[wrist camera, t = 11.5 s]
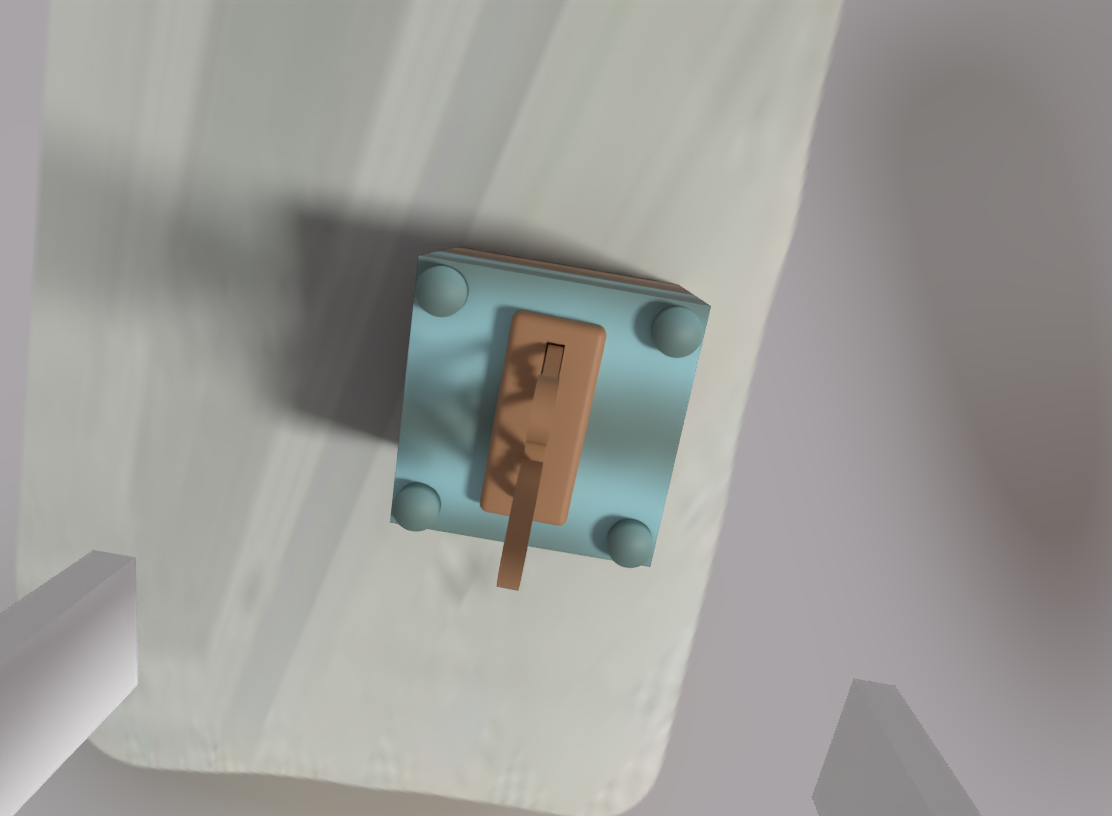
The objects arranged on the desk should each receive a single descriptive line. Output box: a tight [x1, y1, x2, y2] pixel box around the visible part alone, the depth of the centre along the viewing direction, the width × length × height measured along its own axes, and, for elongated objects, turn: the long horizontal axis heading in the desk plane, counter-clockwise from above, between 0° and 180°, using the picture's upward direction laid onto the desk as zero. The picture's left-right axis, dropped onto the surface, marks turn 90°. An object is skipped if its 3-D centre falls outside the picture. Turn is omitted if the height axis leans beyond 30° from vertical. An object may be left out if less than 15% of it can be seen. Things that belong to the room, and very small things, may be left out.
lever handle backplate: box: [480, 310, 607, 591], centre depth 23 cm, size 9×4×12 cm, turn 169°
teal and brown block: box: [390, 247, 711, 568], centre depth 32 cm, size 12×12×10 cm
